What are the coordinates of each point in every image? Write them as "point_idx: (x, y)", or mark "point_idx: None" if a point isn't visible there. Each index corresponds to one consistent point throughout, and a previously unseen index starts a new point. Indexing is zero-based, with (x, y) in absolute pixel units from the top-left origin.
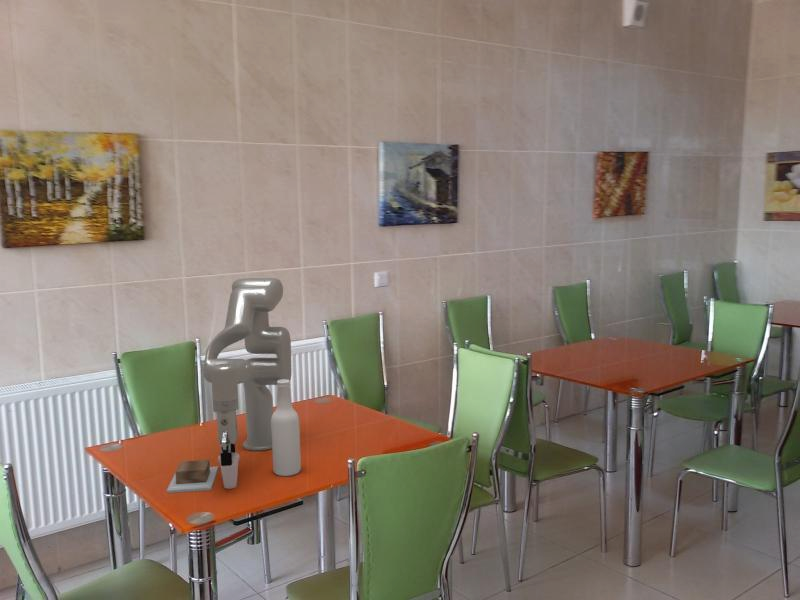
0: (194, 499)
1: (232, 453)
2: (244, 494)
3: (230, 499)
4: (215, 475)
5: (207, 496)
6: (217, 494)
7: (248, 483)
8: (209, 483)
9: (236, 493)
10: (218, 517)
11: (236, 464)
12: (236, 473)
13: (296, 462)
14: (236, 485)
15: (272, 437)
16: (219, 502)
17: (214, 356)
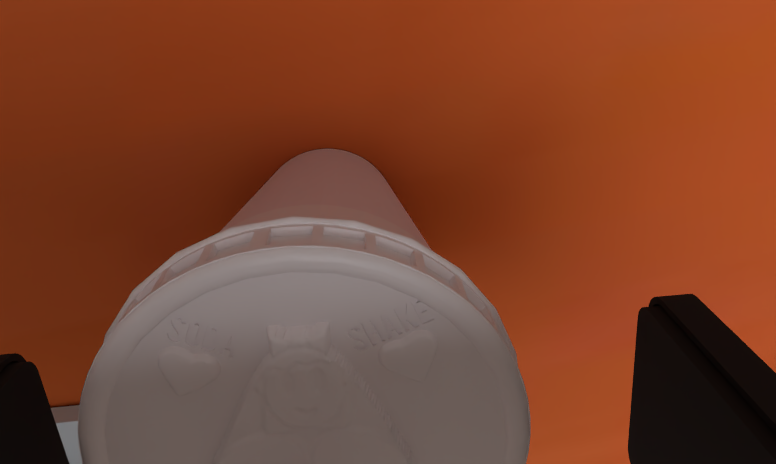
0: (606, 450)
1: (135, 413)
2: (590, 8)
3: (692, 142)
4: (62, 416)
5: (562, 368)
6: (531, 293)
7: (249, 16)
8: None
9: (542, 108)
10: None
11: (387, 227)
12: (359, 183)
13: None
14: (328, 149)
15: None
16: (737, 234)
17: None
